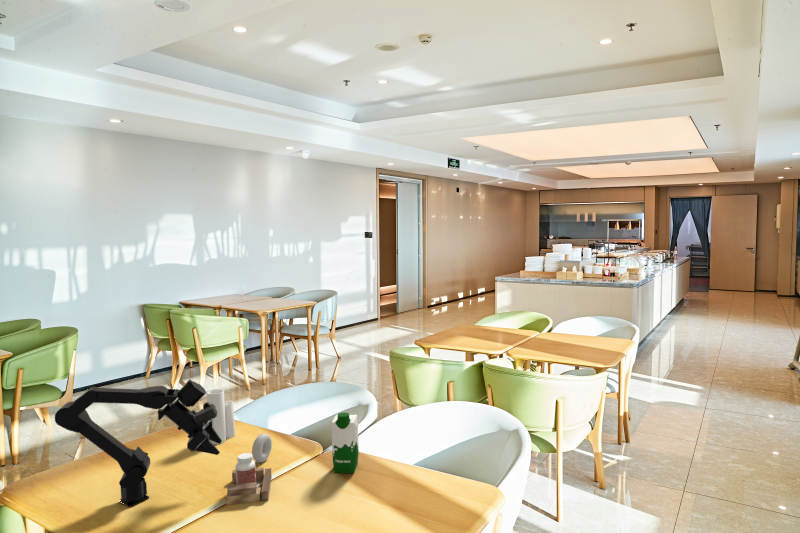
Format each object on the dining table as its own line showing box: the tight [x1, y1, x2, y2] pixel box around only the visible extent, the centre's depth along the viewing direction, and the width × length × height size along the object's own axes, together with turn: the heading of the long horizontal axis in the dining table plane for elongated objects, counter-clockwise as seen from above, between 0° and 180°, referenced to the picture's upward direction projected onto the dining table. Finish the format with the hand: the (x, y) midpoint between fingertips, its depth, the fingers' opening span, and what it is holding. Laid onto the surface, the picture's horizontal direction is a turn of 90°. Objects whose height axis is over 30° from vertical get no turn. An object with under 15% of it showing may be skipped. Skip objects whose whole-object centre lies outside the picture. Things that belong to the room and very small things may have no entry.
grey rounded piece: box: [251, 433, 273, 463], centre depth 196 cm, size 10×4×10 cm, turn 161°
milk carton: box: [331, 412, 360, 474], centre depth 188 cm, size 9×9×20 cm
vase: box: [205, 388, 236, 445], centre depth 217 cm, size 11×7×20 cm, turn 160°
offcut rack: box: [225, 467, 273, 505], centre depth 175 cm, size 12×16×4 cm
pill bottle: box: [235, 452, 257, 484], centre depth 175 cm, size 6×6×11 cm
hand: (219, 447), depth 175 cm, fingers open, 9 cm apart
